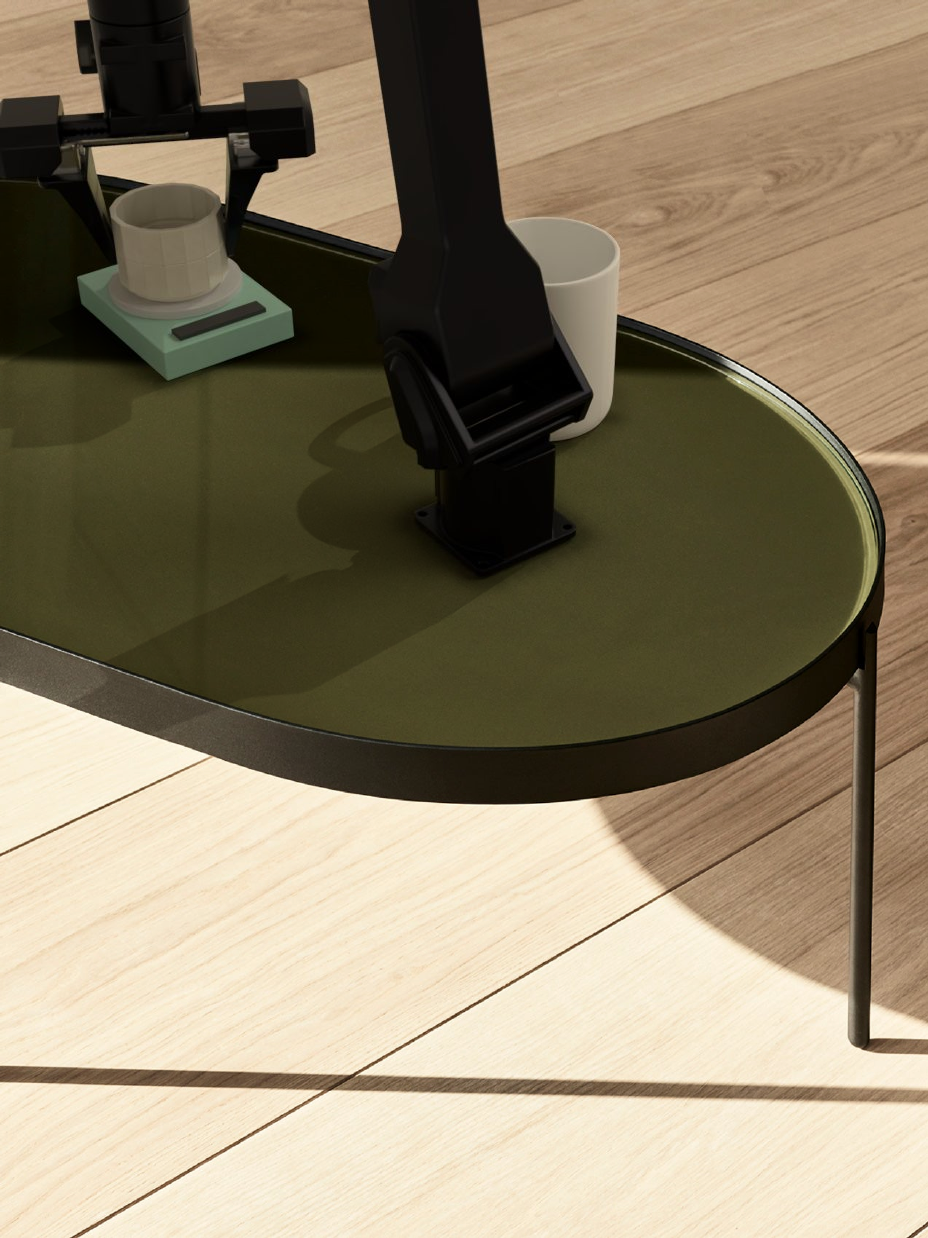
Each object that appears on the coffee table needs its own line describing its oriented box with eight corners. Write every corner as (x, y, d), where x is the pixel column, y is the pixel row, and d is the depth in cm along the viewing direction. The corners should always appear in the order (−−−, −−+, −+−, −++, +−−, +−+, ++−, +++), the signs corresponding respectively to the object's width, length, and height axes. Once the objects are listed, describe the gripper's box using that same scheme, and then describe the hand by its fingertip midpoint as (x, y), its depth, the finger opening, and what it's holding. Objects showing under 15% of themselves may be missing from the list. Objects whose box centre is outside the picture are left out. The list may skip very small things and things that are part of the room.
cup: (559, 461, 95) (564, 300, 88) (394, 394, 101) (387, 239, 94) (639, 397, 100) (648, 241, 93) (477, 338, 106) (476, 186, 99)
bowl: (248, 284, 106) (241, 211, 103) (151, 316, 103) (141, 241, 100) (196, 244, 110) (188, 173, 107) (102, 274, 107) (90, 201, 104)
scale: (294, 336, 106) (291, 300, 104) (167, 381, 102) (162, 343, 100) (202, 265, 114) (198, 229, 112) (81, 303, 110) (74, 267, 108)
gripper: (293, -47, 103) (310, 191, 113) (-18, -29, 101) (28, 212, 111) (307, 17, 94) (324, 268, 104) (-32, 38, 92) (18, 293, 102)
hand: (172, 257), depth 106 cm, fingers closed on bowl, 7 cm apart
